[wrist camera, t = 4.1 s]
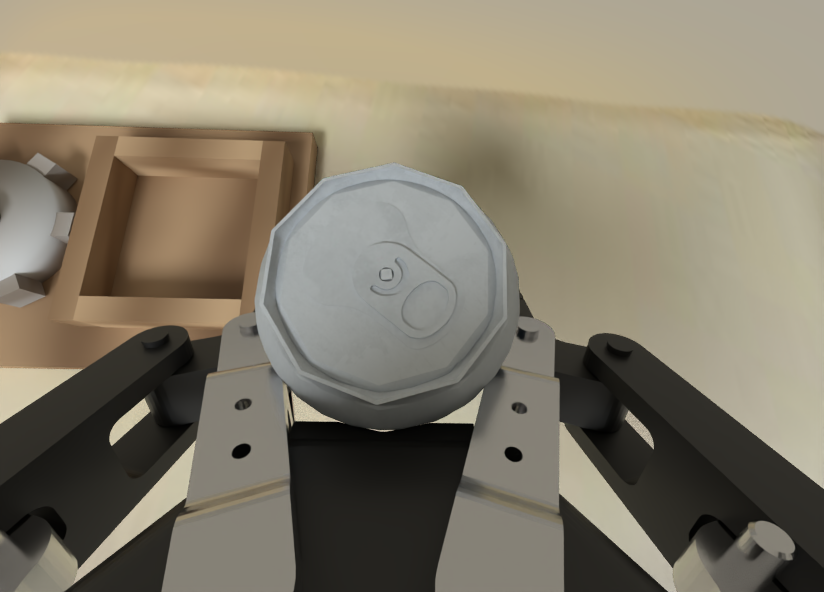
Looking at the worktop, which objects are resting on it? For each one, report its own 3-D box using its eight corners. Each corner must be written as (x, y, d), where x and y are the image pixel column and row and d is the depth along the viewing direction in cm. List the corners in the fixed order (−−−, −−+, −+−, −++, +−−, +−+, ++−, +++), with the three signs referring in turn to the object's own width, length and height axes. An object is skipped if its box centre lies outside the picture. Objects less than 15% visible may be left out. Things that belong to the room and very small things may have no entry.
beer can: (391, 285, 18) (370, 94, 7) (470, 347, 18) (596, 252, 6) (324, 363, 17) (163, 294, 6) (405, 432, 17) (408, 513, 5)
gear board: (317, 147, 21) (301, 100, 17) (296, 373, 17) (272, 367, 14) (-4, 137, 20) (-82, 87, 17) (-83, 365, 17) (-197, 359, 14)
